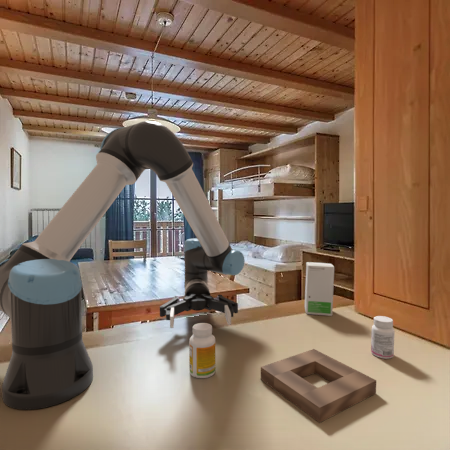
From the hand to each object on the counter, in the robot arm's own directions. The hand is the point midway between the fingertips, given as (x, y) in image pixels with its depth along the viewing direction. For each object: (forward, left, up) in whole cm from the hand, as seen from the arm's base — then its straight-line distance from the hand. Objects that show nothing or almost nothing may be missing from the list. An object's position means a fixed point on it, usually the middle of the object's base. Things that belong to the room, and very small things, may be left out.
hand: (200, 320), depth 76 cm
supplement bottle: (-4, -9, -7) cm, 12 cm away
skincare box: (+45, +4, -7) cm, 46 cm away
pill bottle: (+35, -24, -7) cm, 43 cm away
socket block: (+12, -25, -7) cm, 28 cm away
